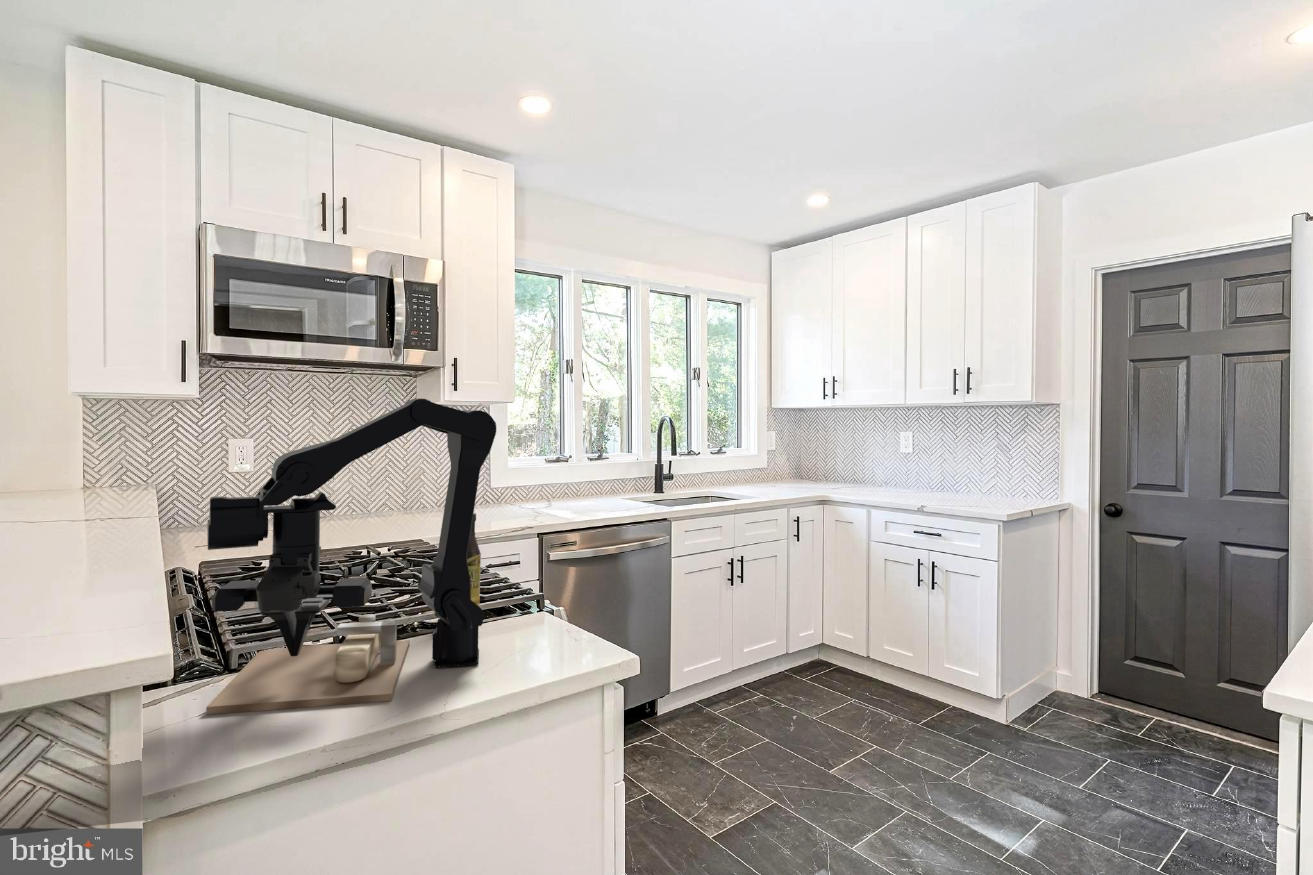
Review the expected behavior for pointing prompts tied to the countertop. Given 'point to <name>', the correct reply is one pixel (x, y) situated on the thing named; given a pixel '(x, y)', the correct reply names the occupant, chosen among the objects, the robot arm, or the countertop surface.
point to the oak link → (356, 656)
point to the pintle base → (314, 675)
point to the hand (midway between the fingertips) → (295, 655)
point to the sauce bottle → (474, 564)
